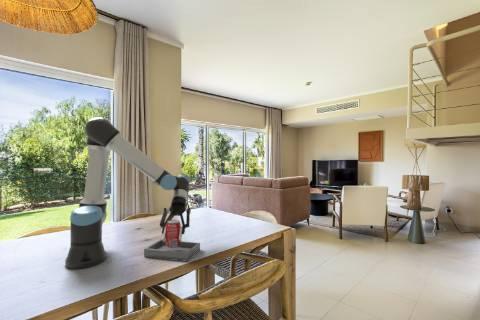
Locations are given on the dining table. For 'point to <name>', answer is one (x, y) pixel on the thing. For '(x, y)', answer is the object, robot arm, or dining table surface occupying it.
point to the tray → (172, 250)
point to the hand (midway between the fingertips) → (171, 240)
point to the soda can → (172, 233)
